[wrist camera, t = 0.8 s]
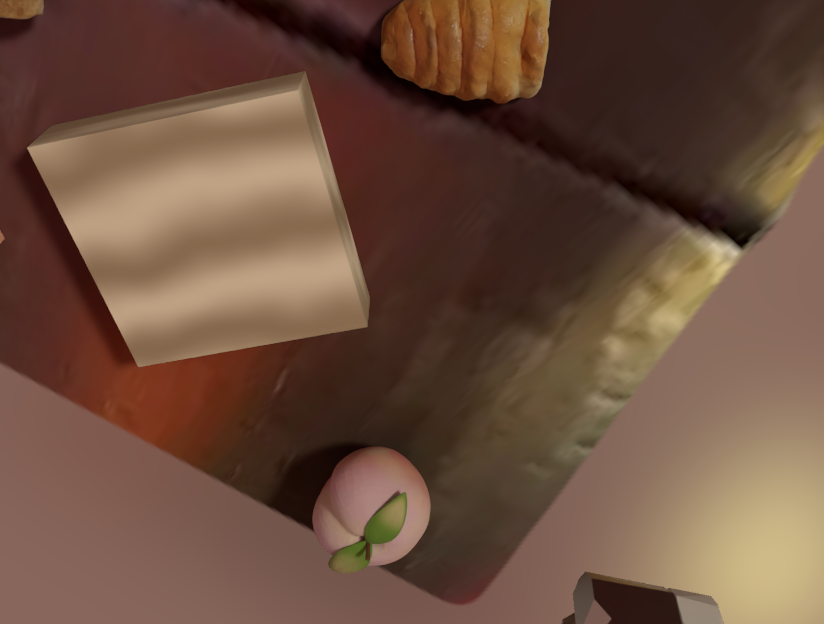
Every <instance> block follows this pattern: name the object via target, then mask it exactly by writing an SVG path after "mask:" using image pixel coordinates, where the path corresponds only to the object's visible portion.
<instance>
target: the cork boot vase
mask: <svg viewBox="0 0 824 624" xmlns="http://www.w3.org/2000/svg"><path fill="white" fill-rule="evenodd" d="M43 9H44V0H0V17H2V18H12V19H29V18H32V17H34V16H38V15H43Z"/></svg>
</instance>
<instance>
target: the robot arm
mask: <svg viewBox="0 0 824 624" xmlns="http://www.w3.org/2000/svg"><path fill="white" fill-rule="evenodd" d="M573 600H574V610H575V613H573V614H572V615H570V616H568V617H566V618H564V619H563V620H562V623H561V624H724V622H723V620H722V616H721V613H720V610H719V607H718V604H717V603H716V601H715V600H714V599H713V598H712V597H711V596H707V595H702V594H697V593H692V592H687V591H682V590H677V589H672V588H668V589H666V588H664V587H660V586H655V585H650V584H645V583H640V582H635V581H630V580H625V579H620V578H614V577H610V576H605V575H600V574H595V573H590V572H584V574H583V575H582V576H581V577H580V578H579V580H578V583H577V585H576V588H575V590H574V592H573Z"/></svg>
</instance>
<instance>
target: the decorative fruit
mask: <svg viewBox="0 0 824 624" xmlns="http://www.w3.org/2000/svg"><path fill="white" fill-rule="evenodd" d="M429 516H430V497H429V493H428V490H427V487H426V484H425V482H424V480H423V478H422V476H421V475H420V473H419V472H418V471H417V469H416V468H415V467H414V466H413V465H412V463H411V462H410V461H409V460H408V459H407V458H405V457H404V456H403V455H402V454H400V453H399V452H397V451H395V450H393V449H390V448H387V447H381V446H371V447H365V448H362V449H359V450H356V451H354V452H352V453H351V454H349V455H347V456H346V457H345V458H343V459H342V460H341V461H340V462H339V463H338V464H337V466H336V467H335V469H334V471H333V474H332V476H331V477H330V478H329V479H328V481H327V482H326V484H325V485H324V487H323V489H322V491H321V493H320V495H319V497H318V499H317V501H316V504H315V507H314V511H313V528H314V531H315V534H316V536H317V538H318V540H319V542H320V543H321V545H322V546H323V547H324V548H325V549H326V550H327V551H328V552H329V553H330V554H331V555H333V556H332V558H331V559H330V561H329V568H331V569H332V570H333V571H336V572H339V573H353V572H356V571H359V570H361V569H363V568H365V567H366V566H367V565H369V566H373V565H384V564H388V563H391V562H394V561H396V560H398V559H400V558H402V557H403V556H405V555H406V554H407V553H408V552H409V551H410V550H411V549H412V548H413V547H414V546H415V545H416V543H417V542H418V541H419V539H420V538H421V536H422V535H423V533H424V532H425V530H426V527H427V525H428V521H429Z"/></svg>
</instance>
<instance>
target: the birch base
mask: <svg viewBox="0 0 824 624" xmlns="http://www.w3.org/2000/svg"><path fill="white" fill-rule="evenodd" d="M27 149H28V151H29V153H30V155H31V157H32V159H33V161H34V163H35V165H36V166H37V168H38V170H39V172H40V174H41V176H42V178H43V180H44V182H45V184H46V186H47V188H48V190H49V192H50V194H51V196H52V198H53V200H54V202H55V204H56V206H57V208H58V210H59V212H60V214H61V216H62V218H63V220H64V222H65V224H66V226H67V228H68V230H69V231H70V233H71V235H72V237H73V239H74V241H75V243H76V245H77V247H78V249H79V251H80V253H81V255H82V257H83V259H84V261H85V263H86V265H87V267H88V269H89V271H90V273H91V275H92V277H93V279H94V281H95V283H96V285H97V287H98V289H99V291H100V293H101V295H102V296H103V298H104V300H105V302H106V304H107V306H108V308H109V310H110V312H111V314H112V316H113V318H114V320H115V322H116V324H117V326H118V328H119V330H120V332H121V334H122V336H123V338H124V340H125V342H126V344H127V346H128V348H129V350H130V352H131V354H132V356H133V358H134V360H135V361H136V363H137V365H138V367H142V366H147V365H153V364H159V363H164V362H170V361H176V360H181V359H187V358H193V357H198V356H204V355H210V354H216V353H221V352H227V351H233V350H238V349H244V348H250V347H255V346H261V345H267V344H272V343H278V342H284V341H290V340H295V339H301V338H307V337H312V336H318V335H324V334H329V333H335V332H341V331H346V330H352V329H358V328H364V327H368V315H369V302H370V297H369V293H368V290H367V286H366V283H365V279H364V276H363V272H362V269H361V265H360V261H359V258H358V254H357V251H356V247H355V244H354V240H353V237H352V233H351V230H350V226H349V223H348V219H347V216H346V212H345V209H344V205H343V202H342V198H341V195H340V191H339V188H338V184H337V181H336V177H335V174H334V170H333V167H332V163H331V160H330V156H329V153H328V149H327V146H326V142H325V139H324V135H323V132H322V128H321V124H320V121H319V117H318V114H317V110H316V107H315V103H314V100H313V96H312V93H311V89H310V86H309V82H308V79H307V75H306V72H305V71H303V72H299V73H294V74H289V75H285V76H280V77H275V78H271V79H266V80H261V81H257V82H252V83H248V84H243V85H238V86H234V87H229V88H224V89H220V90H215V91H210V92H206V93H201V94H196V95H192V96H187V97H183V98H178V99H173V100H169V101H164V102H159V103H155V104H150V105H145V106H141V107H136V108H131V109H127V110H122V111H118V112H113V113H108V114H104V115H99V116H94V117H90V118H85V119H80V120H76V121H71V122H66V123H62V124H57V125H52V126H50V127H49V128H48V129H47V130H46V131H45V132H44V133H43V134H41V135H40V136H39V137H38V138H37V139H36V140H35V141H34V142H33V143H32V144H30V145H29V146H28V147H27Z"/></svg>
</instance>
